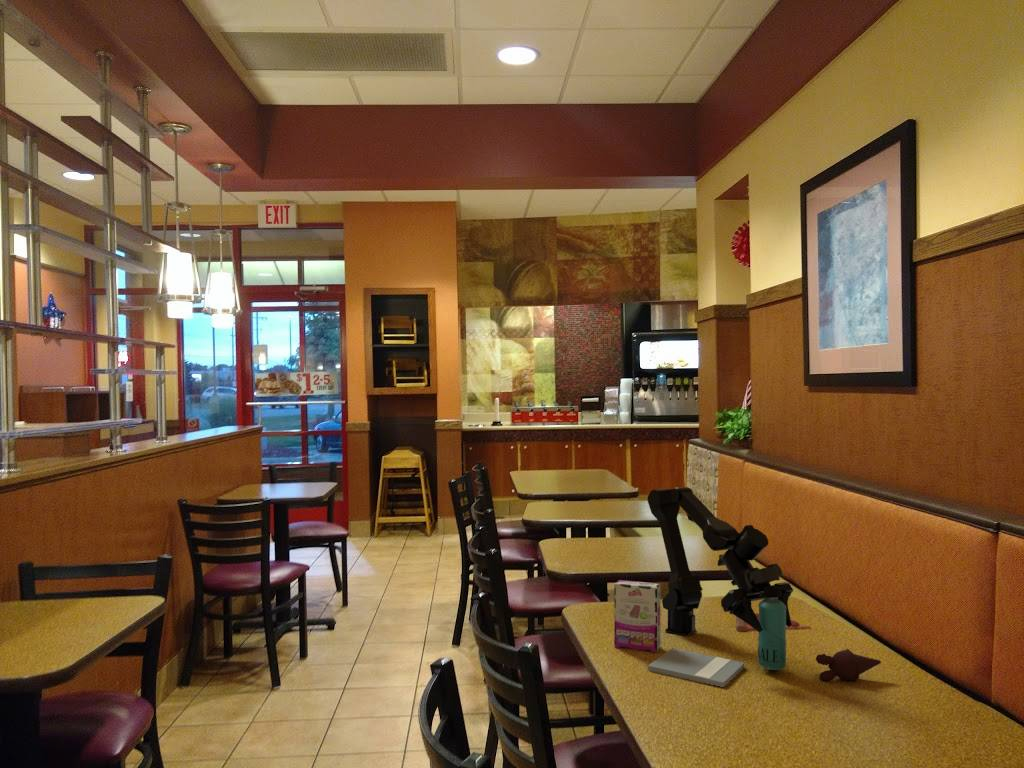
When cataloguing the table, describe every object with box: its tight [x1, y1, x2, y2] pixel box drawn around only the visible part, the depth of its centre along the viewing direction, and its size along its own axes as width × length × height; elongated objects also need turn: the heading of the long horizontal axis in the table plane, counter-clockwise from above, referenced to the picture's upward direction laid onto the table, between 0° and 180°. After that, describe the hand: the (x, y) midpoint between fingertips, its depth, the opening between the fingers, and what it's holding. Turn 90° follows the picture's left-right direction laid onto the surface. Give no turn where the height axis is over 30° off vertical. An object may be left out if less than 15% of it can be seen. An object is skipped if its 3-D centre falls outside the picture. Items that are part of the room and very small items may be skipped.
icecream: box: [815, 648, 882, 682], centre depth 176 cm, size 7×7×15 cm
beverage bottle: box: [757, 584, 787, 671], centre depth 181 cm, size 6×7×20 cm
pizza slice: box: [735, 612, 812, 632], centre depth 217 cm, size 18×2×20 cm
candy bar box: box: [613, 579, 662, 653], centre depth 197 cm, size 11×5×16 cm, turn 68°
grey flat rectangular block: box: [647, 647, 745, 688], centre depth 182 cm, size 18×15×1 cm
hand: (775, 628), depth 180 cm, fingers open, 9 cm apart
